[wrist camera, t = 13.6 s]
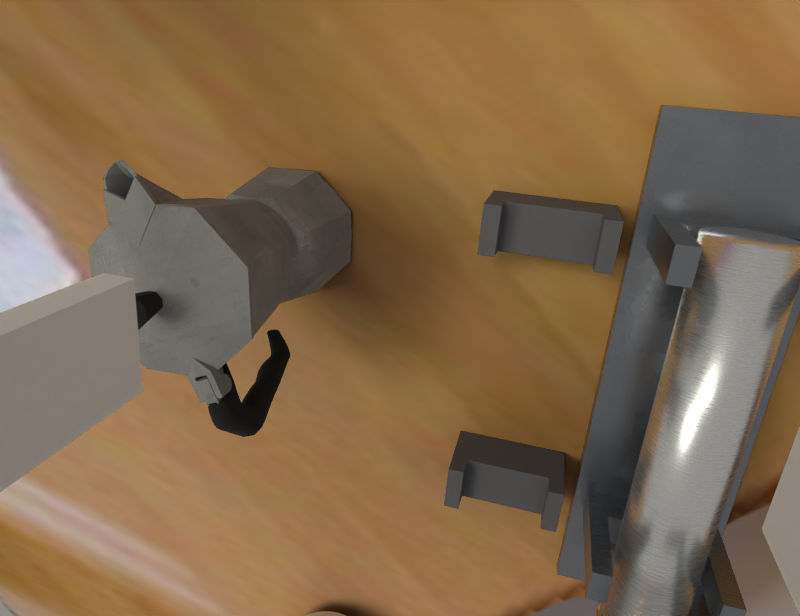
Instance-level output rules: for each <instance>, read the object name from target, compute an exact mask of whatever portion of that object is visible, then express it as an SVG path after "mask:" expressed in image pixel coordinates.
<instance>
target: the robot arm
mask: <svg viewBox="0 0 800 616" xmlns="http://www.w3.org/2000/svg"><path fill="white" fill-rule="evenodd" d="M142 392H143V384H142V371H141V359H140V347H139V334H138V322H137V310H136V297H135V285H134V278H128V277H123V276H117V275H112V274H106V273H102V274H100V275H97V276H94V277H92V278H89V279H87V280H84V281H82V282H79V283H76V284H74V285H71V286H69V287H66V288H64V289H61V290H58V291H56V292H53V293H51V294H48V295H46V296H43V297H40V298H38V299H35V300H33V301H30V302H28V303H25V304H22V305H20V306H17V307H15V308H12V309H10V310H7V311H4V312H2V313H0V492H1V491H2V490H4V489H5V488H7V487H8V486H9V485H11V484H12V483H14V482H15V481H17V480H18V479H19V478H21V477H22V476H24V475H25V474H27V473H28V472H29V471H31V470H32V469H34V468H35V467H36V466H38V465H39V464H41V463H42V462H44V461H45V460H46V459H48V458H49V457H51V456H52V455H54V454H55V453H56V452H58V451H59V450H61V449H62V448H63V447H65V446H66V445H68V444H69V443H71V442H72V441H73V440H75V439H76V438H78V437H79V436H81V435H82V434H83V433H85V432H86V431H88V430H89V429H90V428H92V427H93V426H95V425H96V424H98V423H99V422H100V421H102V420H103V419H105V418H106V417H107V416H109V415H110V414H112V413H113V412H115V411H116V410H117V409H119V408H120V407H122V406H123V405H125V404H126V403H127V402H129V401H130V400H132V399H133V398H134V397H136V396H137V395H139V394H140V393H142ZM762 531H763V534H764V536H765V538H766V540H767V543H768V545H769V547H770V549H771V552H772V554H773V556H774V559H775V561H776V563H777V565H778V567H779V570H780V572H781V574H782V576H783V579H784V581H785V583H786V586H787V588H788V590H789V592H790V594H791V597H792V599H793V601H794V604H795V606H796V608H797V610H798V613H799V615H800V427H799V430H798V432H797V435H796V438H795V440H794V443H793V446H792V448H791V451H790V454H789V456H788V459H787V462H786V465H785V467H784V470H783V473H782V475H781V478H780V481H779V483H778V486H777V489H776V491H775V494H774V497H773V499H772V502H771V505H770V508H769V510H768V513H767V516H766V518H765V521H764V524H763V526H762Z"/></svg>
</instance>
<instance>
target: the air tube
mask: <svg viewBox="0 0 800 616" xmlns="http://www.w3.org/2000/svg"><path fill="white" fill-rule="evenodd" d="M696 241H697V242H698V243H699V244H700V245H701V246H702V248H703V249H702V252H701V256H700V260H699V263H698V267H697V271H696V274H695V278H694V282H693V286H692V288H687V287H684V289H683V292H682V296H681V300H680V304H679V308H678V311H677V315H676V319H675V323H674V327H673V330H672V334H671V338H670V342H669V345H668V349H667V353H666V357H665V361H664V364H663V368H662V372H661V376H660V380H659V383H658V387H657V391H656V395H655V398H654V402H653V406H652V410H651V414H650V417H649V421H648V425H647V429H646V433H645V436H644V440H643V444H642V448H641V451H640V455H639V459H638V463H637V467H636V470H635V474H634V478H633V482H632V486H631V489H630V493H629V497H628V501H627V504H626V508H625V512H624V516H623V520H622V523H621V527H620V531H619V535H618V539H617V542H616V546H615V550H614V554H613V557H612V568H613V581H612V584H611V588H610V592H609V595H608V599H607V603H604V602H601V603H600V605H599V607H598V609H597V612H596V616H688V614H689V611H690V608H691V606H692V603H693V600H694V597H695V594H696V591H697V588H698V585H699V582H700V579H701V576H702V573H703V570H704V567H705V564H706V561H707V558H708V555H709V552H710V549H711V546H712V543H713V540H714V537H715V534H716V531H717V528H718V525H719V522H720V519H721V516H722V513H723V510H724V507H725V505H726V502H727V499H728V496H729V493H730V490H731V487H732V484H733V481H734V478H735V475H736V472H737V469H738V466H739V463H740V460H741V457H742V454H743V451H744V448H745V445H746V442H747V439H748V436H749V433H750V430H751V427H752V424H753V421H754V418H755V415H756V412H757V409H758V406H759V404H760V401H761V398H762V395H763V392H764V389H765V386H766V383H767V380H768V377H769V374H770V371H771V368H772V365H773V362H774V359H775V356H776V353H777V350H778V347H779V344H780V341H781V338H782V335H783V332H784V329H785V326H786V323H787V320H788V317H789V314H790V311H791V308H792V305H793V303H794V300H795V297H796V294H797V291H798V288H799V285H800V242H799V241H796V240H793V239H790V238H786V237H782V236H778V235H774V234H770V233H765V232H759V231H754V230H747V229H740V228H731V227H703V228H700V229H699V232H698V236H697V239H696Z"/></svg>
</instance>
